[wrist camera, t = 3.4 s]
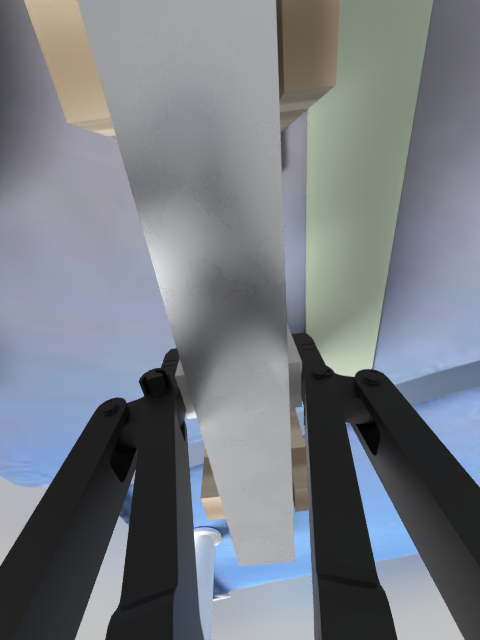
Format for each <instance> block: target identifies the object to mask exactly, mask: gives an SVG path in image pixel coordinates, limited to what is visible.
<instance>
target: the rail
mask: <svg viewBox="0 0 480 640" xmlns="http://www.w3.org/2000/svg"><path fill="white" fill-rule="evenodd" d="M77 2H78V6H79V9H80V12H81V16H82V19H83V23H84V26H85V30H86V33H87V37H88V40H89V44H90V47H91V51H92V54H93V58H94V61H95V65H96V68H97V72H98V75H99V79H100V82H101V86H102V89H103V93H104V96H105V99H106V103H107V106H108V110H109V113H110V117H111V120H112V124H113V127H114V131H115V134H116V138H117V141H118V145H119V148H120V152H121V155H122V159H123V162H124V166H125V169H126V173H127V176H128V180H129V183H130V187H131V190H132V193H133V197H134V200H135V204H136V207H137V211H138V214H139V218H140V221H141V225H142V228H143V232H144V235H145V239H146V242H147V246H148V249H149V253H150V256H151V260H152V263H153V267H154V270H155V274H156V277H157V280H158V284H159V287H160V291H161V294H162V298H163V301H164V305H165V308H166V312H167V315H168V319H169V322H170V326H171V329H172V333H173V336H174V340H175V343H176V347H177V350H178V354H179V357H180V361H181V364H182V368H183V371H184V374H185V378H186V381H187V385H188V388H189V392H190V395H191V399H192V402H193V406H194V409H195V413H196V416H197V420H198V423H199V427H200V430H201V434H202V437H203V441H204V444H205V448H206V451H207V455H208V458H209V461H210V465H211V468H212V472H213V475H214V479H215V482H216V486H217V489H218V493H219V496H220V500H221V503H222V507H223V510H224V514H225V517H226V521H227V524H228V528H229V531H230V535H231V538H232V542H233V545H234V549H235V552H236V555H237V559H238V562H239V566H249V565H260V564H271V563H282V562H292V561H295V549H294V520H293V490H292V461H291V431H290V401H289V372H288V342H287V313H286V283H285V253H284V224H283V194H282V165H281V135H280V106H279V76H278V46H277V17H276V0H77Z"/></svg>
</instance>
